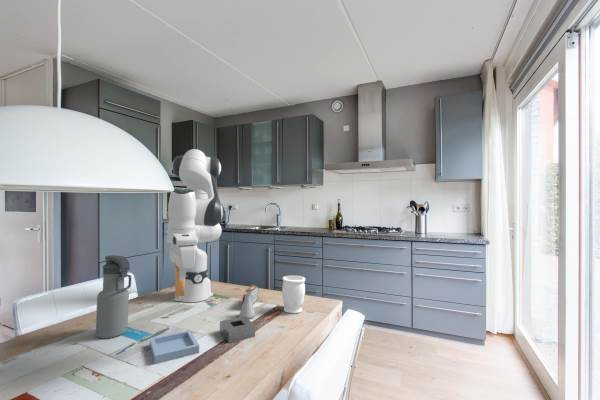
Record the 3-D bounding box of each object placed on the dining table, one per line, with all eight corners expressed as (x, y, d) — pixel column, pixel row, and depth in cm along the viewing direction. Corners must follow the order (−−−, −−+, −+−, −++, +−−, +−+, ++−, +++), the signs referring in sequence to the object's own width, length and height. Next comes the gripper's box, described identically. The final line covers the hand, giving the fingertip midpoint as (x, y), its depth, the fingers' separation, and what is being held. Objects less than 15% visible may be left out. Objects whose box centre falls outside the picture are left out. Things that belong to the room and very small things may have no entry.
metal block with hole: (219, 331, 110) (219, 321, 110) (244, 326, 115) (244, 316, 115) (228, 343, 101) (229, 331, 101) (254, 336, 107) (255, 325, 107)
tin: (253, 299, 147) (253, 282, 147) (259, 299, 146) (259, 283, 146) (241, 310, 132) (242, 291, 132) (247, 310, 132) (248, 292, 132)
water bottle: (134, 329, 109) (137, 255, 110) (111, 341, 100) (114, 260, 100) (113, 325, 112) (115, 253, 112) (88, 336, 103) (91, 257, 103)
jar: (306, 307, 138) (307, 276, 138) (302, 315, 128) (303, 281, 128) (284, 305, 140) (285, 274, 140) (279, 313, 129) (280, 279, 130)
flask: (252, 320, 121) (252, 296, 121) (235, 318, 123) (236, 294, 123) (257, 313, 128) (258, 291, 128) (242, 312, 130) (243, 289, 130)
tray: (149, 345, 98) (149, 338, 98) (189, 336, 105) (190, 329, 105) (154, 364, 87) (155, 356, 87) (199, 352, 94) (199, 345, 94)
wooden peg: (171, 294, 97) (172, 261, 97) (184, 292, 100) (185, 260, 100) (174, 297, 94) (175, 263, 94) (187, 295, 96) (188, 262, 96)
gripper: (165, 234, 104) (164, 272, 104) (177, 241, 87) (176, 287, 87) (184, 233, 107) (183, 270, 107) (199, 240, 90) (197, 284, 90)
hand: (180, 278), depth 97 cm, fingers closed on wooden peg, 4 cm apart
